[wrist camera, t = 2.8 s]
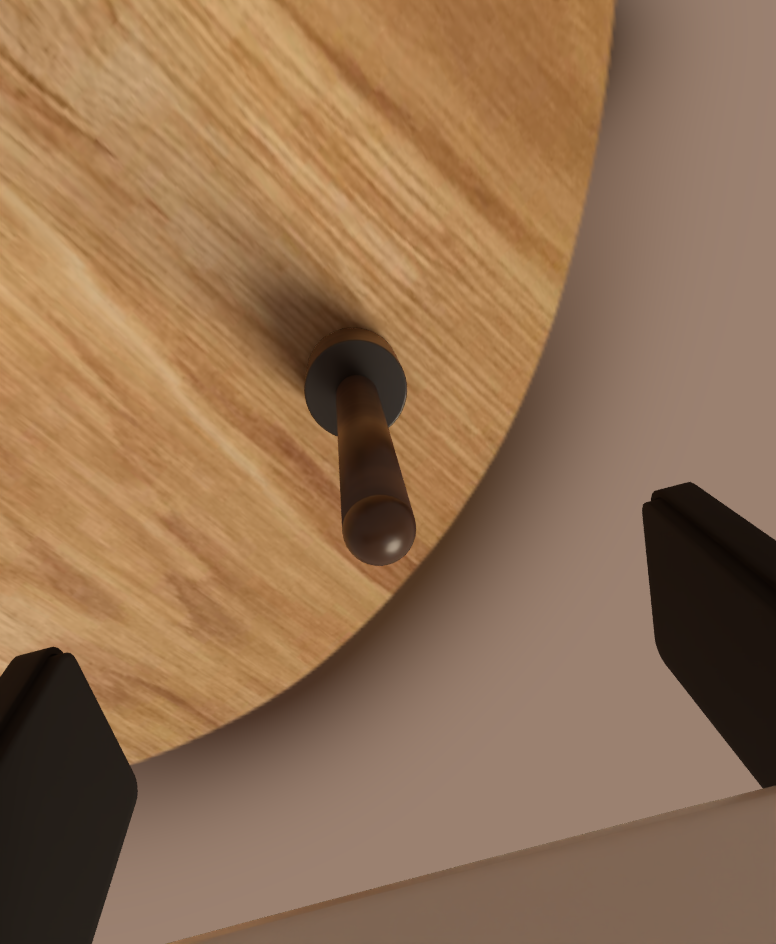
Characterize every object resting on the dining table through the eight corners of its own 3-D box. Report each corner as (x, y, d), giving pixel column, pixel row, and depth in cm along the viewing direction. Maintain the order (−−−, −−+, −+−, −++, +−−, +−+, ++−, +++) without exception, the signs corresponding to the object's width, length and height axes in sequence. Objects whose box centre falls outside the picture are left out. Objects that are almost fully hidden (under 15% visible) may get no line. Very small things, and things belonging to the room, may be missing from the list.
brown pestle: (387, 317, 28) (457, 431, 13) (408, 406, 29) (492, 602, 14) (295, 340, 28) (258, 482, 13) (320, 428, 29) (314, 647, 14)
